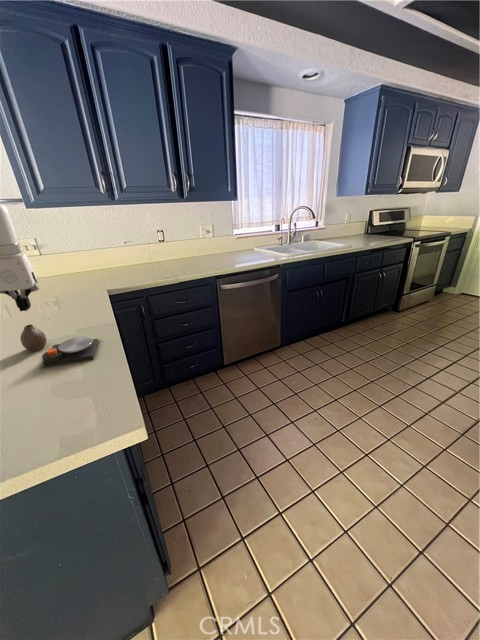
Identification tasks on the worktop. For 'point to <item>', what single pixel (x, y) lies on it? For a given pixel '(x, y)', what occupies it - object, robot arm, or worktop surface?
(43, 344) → the vase
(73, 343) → the pan
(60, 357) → the scale
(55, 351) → the tare button
